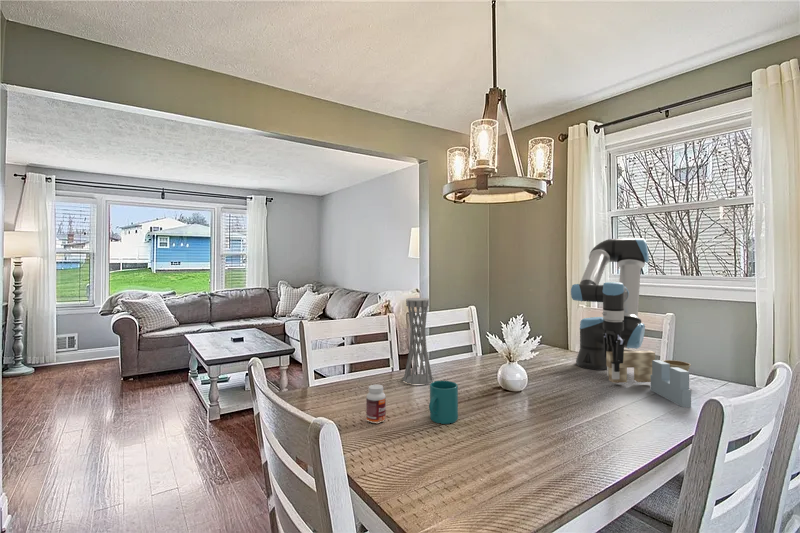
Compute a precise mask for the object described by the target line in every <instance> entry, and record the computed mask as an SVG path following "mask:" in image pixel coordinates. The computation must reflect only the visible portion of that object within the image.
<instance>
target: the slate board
mask: <svg viewBox="0 0 800 533" xmlns="http://www.w3.org/2000/svg"><path fill="white" fill-rule="evenodd" d="M663 361H664V360H660V359H655V360H652V375H651V382H650V391H651V392H654V393H655V394H657V395H659V396H660V397H662V398H665V399H667V400H668V401H670V402H672V403H674V404H676V405H678V406H680V407H681V408H692V389H690V371H689V370H688V371H686V370H683V369H681V368H678V367H670V364H668V363H666V362H663Z"/></svg>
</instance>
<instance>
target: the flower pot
mask: <svg viewBox="0 0 800 533" xmlns="http://www.w3.org/2000/svg"><path fill="white" fill-rule="evenodd" d="M662 361H663V362H666V363H668V364H670V367H678V368H681V369H683V370H686V371H688V372H689V369H690V367H691V366H692V364H691V363H689V362H685V361H681V360H674V359H664V360H662Z"/></svg>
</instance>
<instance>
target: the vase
mask: <svg viewBox="0 0 800 533" xmlns="http://www.w3.org/2000/svg"><path fill="white" fill-rule="evenodd" d="M405 301H406V303H405V306H406V307H407V310H408V318H409V326H410V330H409V331H410V332H409V347H408V348H409V349H408V355H407V360H406V365H405V368H404V369H405V371H404V375H403V377H402V378H401V380H402V379H403V381H405V382H407V383H411V384H429V383H431V382H433V381H434V382H435V377H433V375H432V374H433V373H432V369H431V364H430V359H429V355H428V354H429V353H428V348H427V334H426V325H427V312H428V307H430V299H429V298H427V297H409V298H406V300H405ZM415 308H416V310H415ZM420 309H421V312H420ZM415 311H416V312H415ZM420 347H421V348H420ZM418 357H419V371H418V363H417V362H418ZM423 360H424V361H423ZM412 361H413V366H412ZM411 370H412V371H411ZM418 372H419V373H418ZM403 381H402V382H403ZM429 385H430V384H429Z"/></svg>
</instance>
